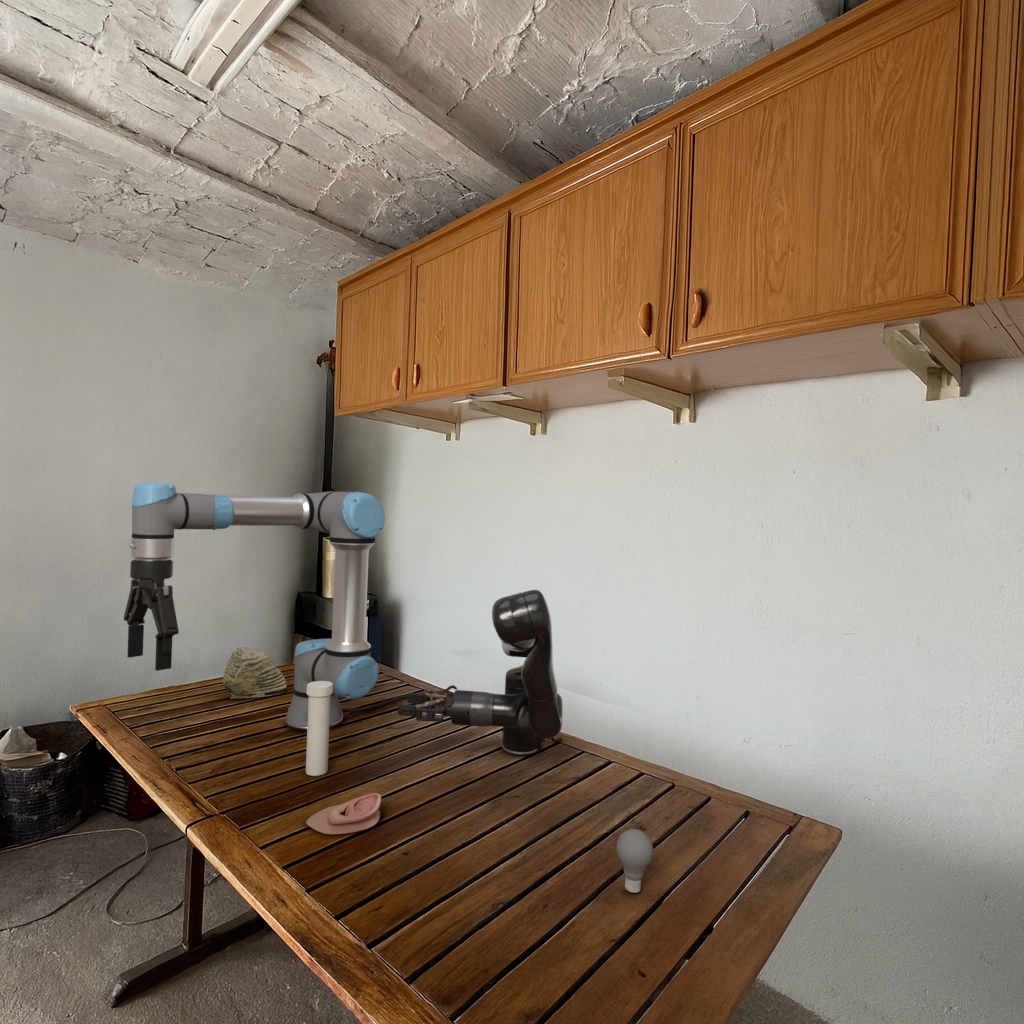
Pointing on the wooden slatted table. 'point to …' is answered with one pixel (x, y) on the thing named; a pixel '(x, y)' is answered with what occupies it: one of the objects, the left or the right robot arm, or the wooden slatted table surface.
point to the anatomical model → (347, 816)
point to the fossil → (252, 674)
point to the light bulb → (634, 857)
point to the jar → (317, 735)
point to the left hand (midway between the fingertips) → (148, 662)
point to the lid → (319, 688)
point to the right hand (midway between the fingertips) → (403, 703)
